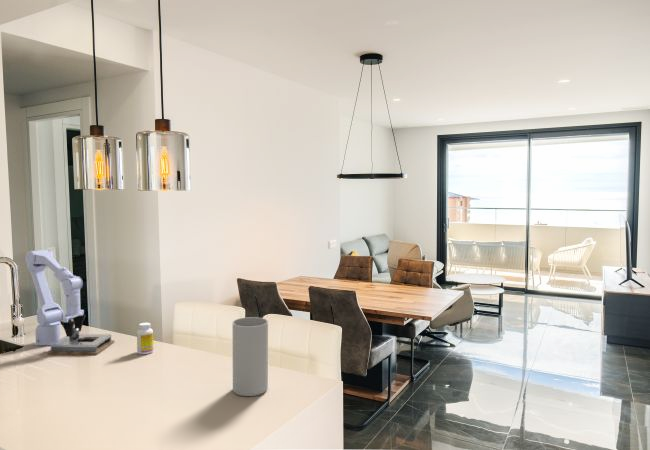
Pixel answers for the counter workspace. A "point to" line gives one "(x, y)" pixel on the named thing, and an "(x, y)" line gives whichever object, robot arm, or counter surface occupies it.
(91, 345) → the keyhole plate
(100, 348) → the keyhole board
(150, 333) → the supplement bottle
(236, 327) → the cylinder vase
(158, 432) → the counter surface
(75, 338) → the dark grey knob
